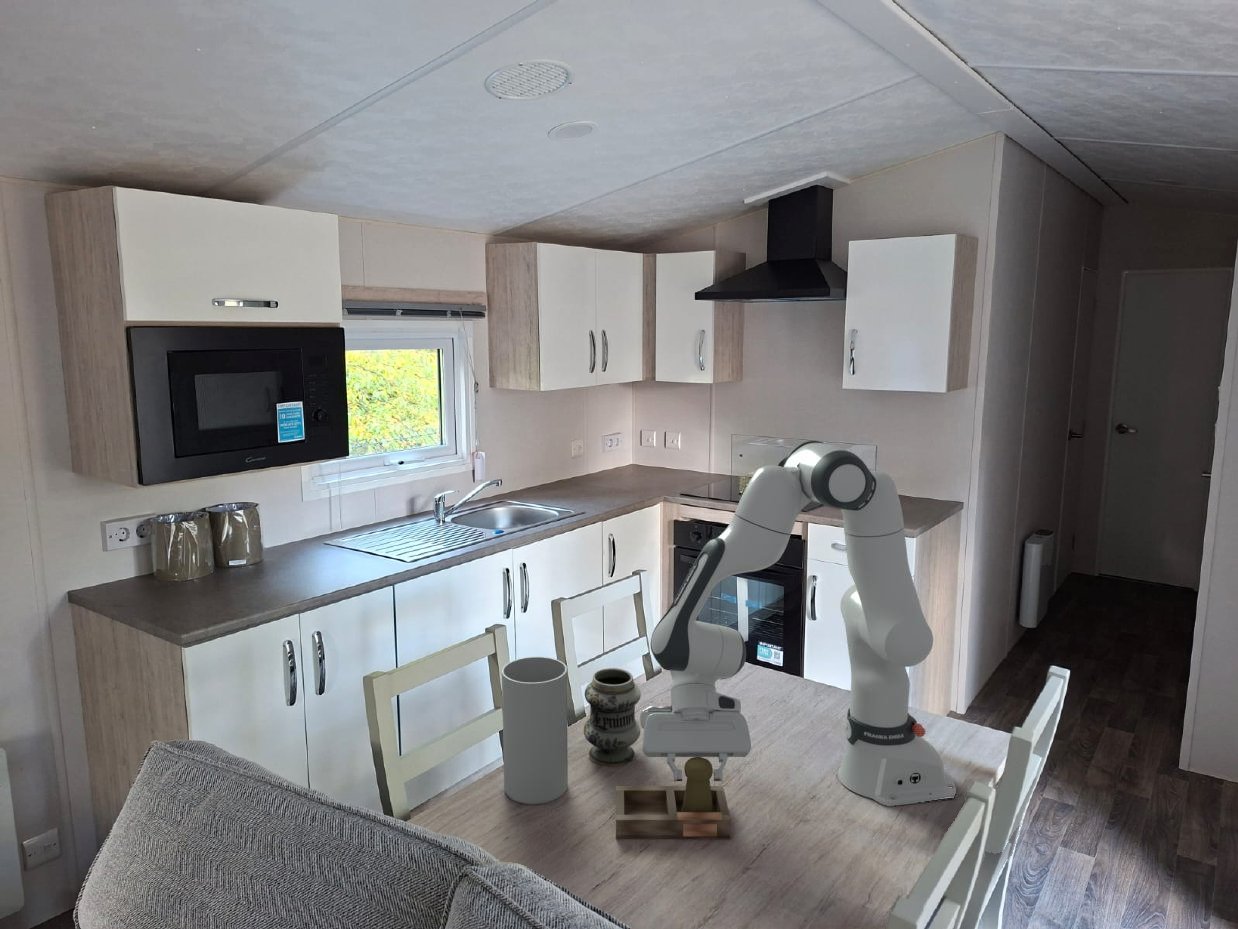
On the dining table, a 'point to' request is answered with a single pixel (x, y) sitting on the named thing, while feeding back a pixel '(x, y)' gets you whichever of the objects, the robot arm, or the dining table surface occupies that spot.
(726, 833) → the spice rack
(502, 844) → the dining table surface
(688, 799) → the olive round-topped post
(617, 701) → the apothecary jar
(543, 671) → the cylinder vase
